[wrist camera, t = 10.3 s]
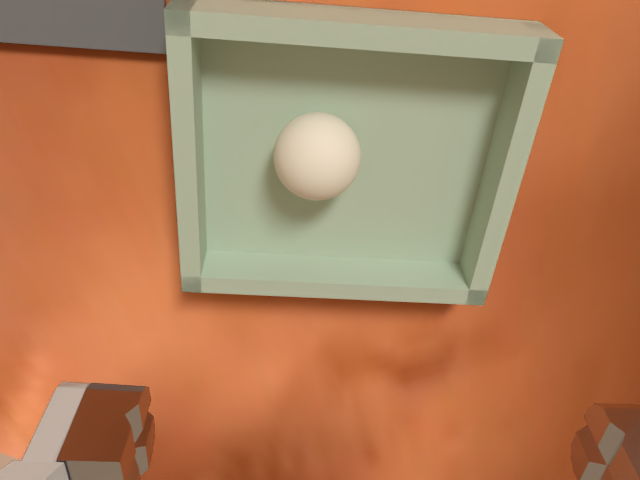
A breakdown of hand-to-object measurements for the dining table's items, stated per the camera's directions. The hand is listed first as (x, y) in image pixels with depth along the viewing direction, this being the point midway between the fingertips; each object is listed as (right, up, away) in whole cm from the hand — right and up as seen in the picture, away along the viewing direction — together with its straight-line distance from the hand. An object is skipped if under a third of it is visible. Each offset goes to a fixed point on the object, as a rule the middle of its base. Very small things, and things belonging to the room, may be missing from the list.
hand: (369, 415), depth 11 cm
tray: (0, +8, +19) cm, 20 cm away
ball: (0, +8, +17) cm, 19 cm away
